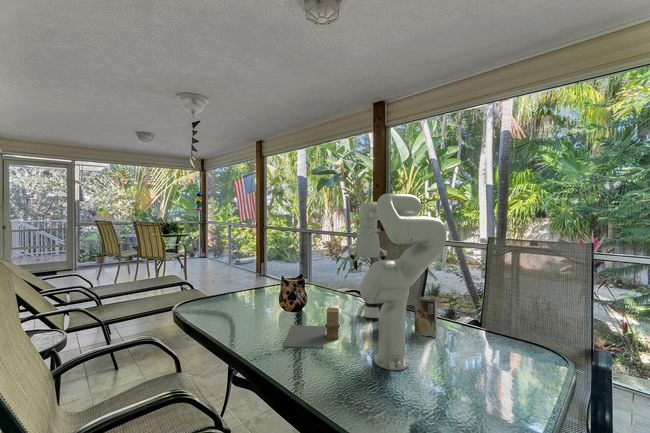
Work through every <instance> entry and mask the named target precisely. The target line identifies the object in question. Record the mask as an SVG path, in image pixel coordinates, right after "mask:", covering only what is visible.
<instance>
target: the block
mask: <svg viewBox="0 0 650 433" xmlns="http://www.w3.org/2000/svg"><path fill="white" fill-rule="evenodd" d="M339 313H340V312H339V308H337V307H334V308H333V307H327V308H326V340H337V341H338V340H339V315H340V314H339Z"/></svg>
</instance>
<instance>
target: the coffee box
mask: <svg viewBox="0 0 650 433" xmlns="http://www.w3.org/2000/svg"><path fill="white" fill-rule="evenodd" d="M437 314H438V299H437V298H434V297H433V298H432V297H426V296H416V297H415V299H414V335H415V334H418V335H417V336H421V335H424V336H423V337H426V336H432V337H435V336H437V335H436V334H438V331H437V329H438V328H437V326H438V324H437V323H438V321H437V320H438V318H437V317H438V315H437ZM432 337H431V338H432ZM435 338H436V337H435Z"/></svg>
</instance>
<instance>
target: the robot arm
mask: <svg viewBox="0 0 650 433" xmlns="http://www.w3.org/2000/svg"><path fill="white" fill-rule="evenodd" d="M421 210H422V203H421V200H420V199H419V197H417V196H415V195H414V194H410V193H409V194H408V193H389V192H388V193H384V194H382V195H380V196H379V198H378V199H377V201H367V202H362V203H360V205H359V233H357V234H356V235H357V236H356V244H355V246H354V247H352V248H350V249H349V250H347V252H348V256H349V257H350V258H351V259H352V260H353V269H355V272H356V271H358V259H359V258H376V259H377V260H376V261H374V262H373V263H372V264H371V265H370V266H369V268H368V270H367V272H366V274H365V275H364V277H363V278H362V281H361V283H360V288H359V292H360V297H361V299H362V301H364V303H365V302H366V303H369V304H376V303H384V304H383V305H382V307H381V309H380V313H379V319H378V322H379V325H378V329H379V330H378V353H377V354H375V355H374V357H373V362H374V364H375V365H376V366H378V367H380V368H382V369H385V370H390V371H401V370H405V369H407V368H408V367H409V366H410V359H409V358H408V357H407V356H406V327H407V326H406V324H407V323H406V322H407V304H408V300H409V294H410V287H412V286H413V285H414V284H415V283H416V282H417V280H418V279H419V278H420V277H421V276H422V275H423V273H425V271H426V270H427V269H428V268H429V267H430V265H432V264H433V263H434V262H435V261H436V260H437V259H438V258H439V257H440V255H441V254H442V252H443V250H444V248H445V246H446V242H447V228H446V226H445V223H444V222H443V221H442V220H440V219H438V218H436V217H433V216H423V215H422V216H421V215H419V214H420V213H421V212H422V211H421ZM378 221H379V222H380V223H381V225H382V227H383V229H384V231H385V234H386V235H387V237H388V239H389V240H390V241H391V242H392V243H393V244H396V245H411V246H409V247H407V249H405V250H404V252H403V253H402V254H401V255H400V257H399V258H397V259H388V260H386V258H387V256H388V254H389V252H388V251H387V250H385V249H383V248H382V247H380V246H381V245H380V238H379V232H381V228H378ZM353 252H355V256H354V255H353ZM380 252H382V253H383V254H382V256H381V257H380V254H381V253H380Z"/></svg>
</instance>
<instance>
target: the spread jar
mask: <svg viewBox="0 0 650 433" xmlns="http://www.w3.org/2000/svg"><path fill="white" fill-rule="evenodd" d="M363 312H364V318H365V319H366V320H367V321H377V320H378V321H379V303H376V304H369V303H366V302H365V301H364V302H362V303H361V304H360V305H359V307H358V309H357V314H356V315H357V316H359V317H360V316H362V314H363Z"/></svg>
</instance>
